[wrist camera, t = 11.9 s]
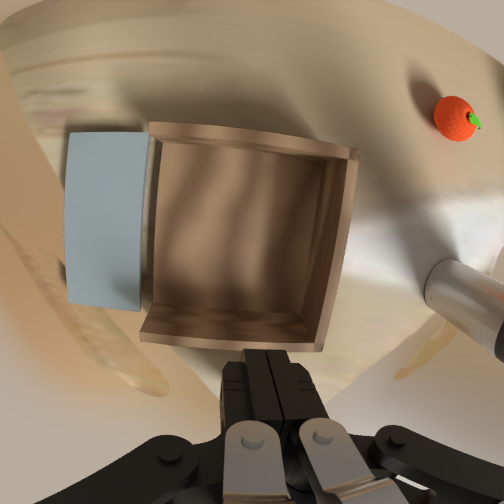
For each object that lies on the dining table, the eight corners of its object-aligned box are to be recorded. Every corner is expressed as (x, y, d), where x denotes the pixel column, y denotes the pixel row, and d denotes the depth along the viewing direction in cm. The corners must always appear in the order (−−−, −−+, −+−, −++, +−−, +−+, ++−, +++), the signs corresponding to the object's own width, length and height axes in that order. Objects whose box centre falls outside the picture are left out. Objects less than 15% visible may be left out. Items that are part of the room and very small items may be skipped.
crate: (328, 154, 35) (360, 150, 26) (302, 317, 40) (321, 352, 32) (166, 134, 32) (149, 121, 24) (155, 306, 38) (140, 341, 29)
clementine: (460, 111, 35) (489, 107, 28) (457, 150, 36) (488, 150, 30) (425, 92, 34) (455, 84, 27) (423, 133, 35) (454, 130, 29)
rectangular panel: (149, 132, 30) (70, 132, 28) (139, 311, 35) (68, 302, 33) (152, 135, 32) (77, 134, 30) (143, 304, 37) (74, 296, 35)
